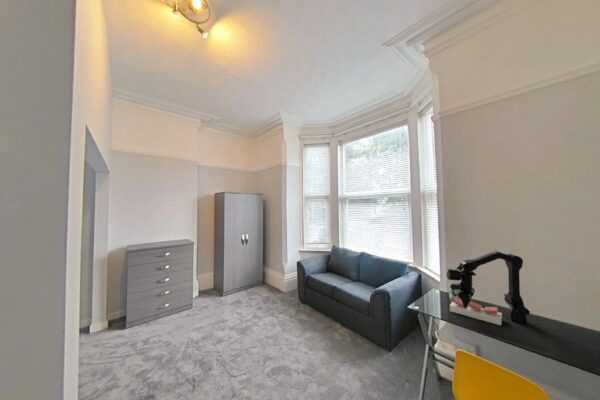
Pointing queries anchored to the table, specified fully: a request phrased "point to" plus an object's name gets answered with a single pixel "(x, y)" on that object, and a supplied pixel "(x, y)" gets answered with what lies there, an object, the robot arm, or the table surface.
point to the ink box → (453, 294)
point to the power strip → (477, 314)
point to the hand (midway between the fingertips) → (466, 305)
